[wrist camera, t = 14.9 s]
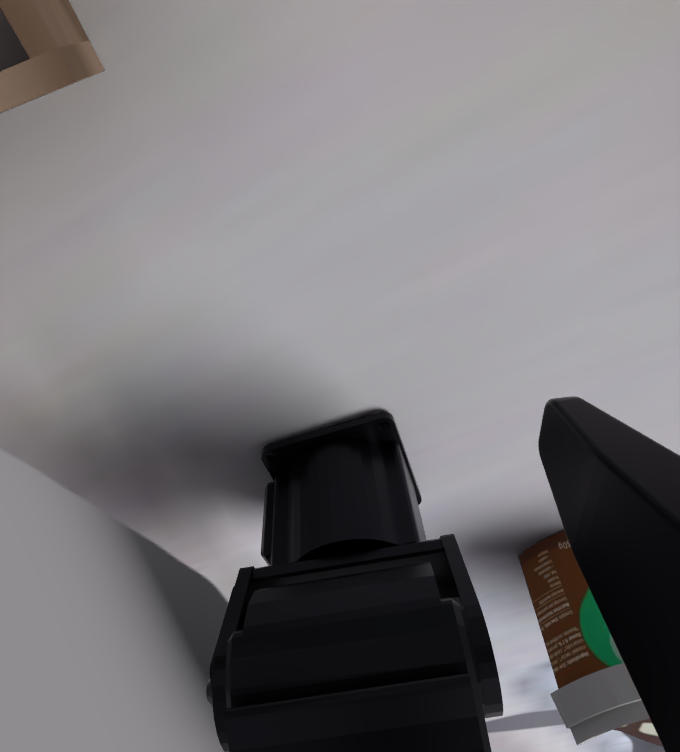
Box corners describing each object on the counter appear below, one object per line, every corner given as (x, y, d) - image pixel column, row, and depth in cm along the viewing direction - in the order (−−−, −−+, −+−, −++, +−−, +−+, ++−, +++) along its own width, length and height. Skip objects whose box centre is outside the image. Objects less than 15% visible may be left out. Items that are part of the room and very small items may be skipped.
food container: (720, 540, 32) (863, 724, 24) (645, 594, 35) (748, 773, 27) (568, 484, 28) (676, 681, 20) (498, 550, 31) (567, 743, 23)
